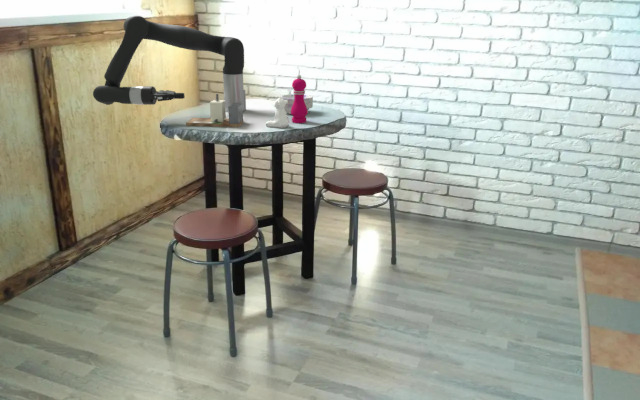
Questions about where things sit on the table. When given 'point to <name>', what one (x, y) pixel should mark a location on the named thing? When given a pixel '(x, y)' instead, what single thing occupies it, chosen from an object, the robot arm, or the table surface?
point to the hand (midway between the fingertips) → (183, 95)
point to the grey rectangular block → (235, 113)
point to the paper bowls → (290, 98)
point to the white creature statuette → (279, 115)
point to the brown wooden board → (210, 123)
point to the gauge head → (217, 110)
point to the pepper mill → (299, 101)
